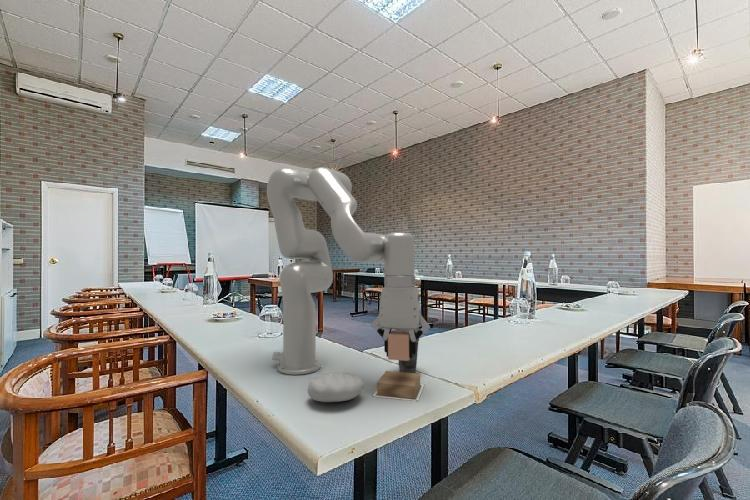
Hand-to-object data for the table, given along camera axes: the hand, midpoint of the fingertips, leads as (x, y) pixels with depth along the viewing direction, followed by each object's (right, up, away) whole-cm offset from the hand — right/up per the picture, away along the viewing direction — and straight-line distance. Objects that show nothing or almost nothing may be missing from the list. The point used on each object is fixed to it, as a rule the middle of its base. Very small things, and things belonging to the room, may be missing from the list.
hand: (400, 355), depth 88 cm
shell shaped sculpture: (-15, -9, -6) cm, 19 cm away
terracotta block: (0, 0, 0) cm, 0 cm away
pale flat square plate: (0, -9, 0) cm, 9 cm away
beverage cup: (+3, -9, +14) cm, 17 cm away
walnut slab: (0, -9, 0) cm, 9 cm away
